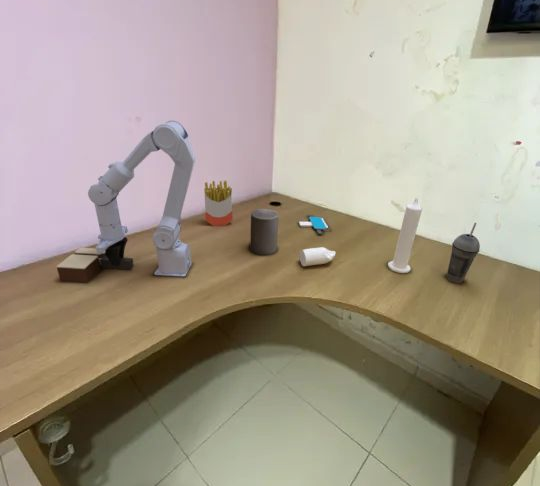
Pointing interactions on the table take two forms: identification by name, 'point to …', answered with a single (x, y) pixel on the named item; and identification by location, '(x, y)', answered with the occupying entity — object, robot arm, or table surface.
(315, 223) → the blue flat paddle
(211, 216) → the french fries container
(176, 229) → the robot arm
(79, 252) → the cake slice
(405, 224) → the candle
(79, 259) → the cake
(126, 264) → the knife
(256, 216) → the pillar candle
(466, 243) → the beverage cup
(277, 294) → the table surface
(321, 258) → the white bottle
